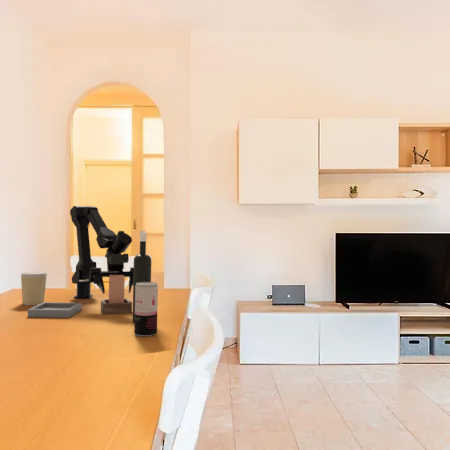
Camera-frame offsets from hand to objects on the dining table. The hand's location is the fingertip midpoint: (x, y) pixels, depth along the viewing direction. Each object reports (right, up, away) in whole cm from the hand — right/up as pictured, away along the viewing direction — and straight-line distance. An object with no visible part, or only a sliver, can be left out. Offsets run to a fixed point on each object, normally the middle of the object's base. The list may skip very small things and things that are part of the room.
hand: (116, 292), depth 166 cm
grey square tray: (-20, -6, -5) cm, 22 cm away
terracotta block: (-1, -7, +1) cm, 7 cm away
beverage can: (+16, -8, -32) cm, 37 cm away
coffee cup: (-36, -6, +12) cm, 38 cm away
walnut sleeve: (-1, -7, +1) cm, 7 cm away
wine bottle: (+12, -7, -16) cm, 21 cm away
